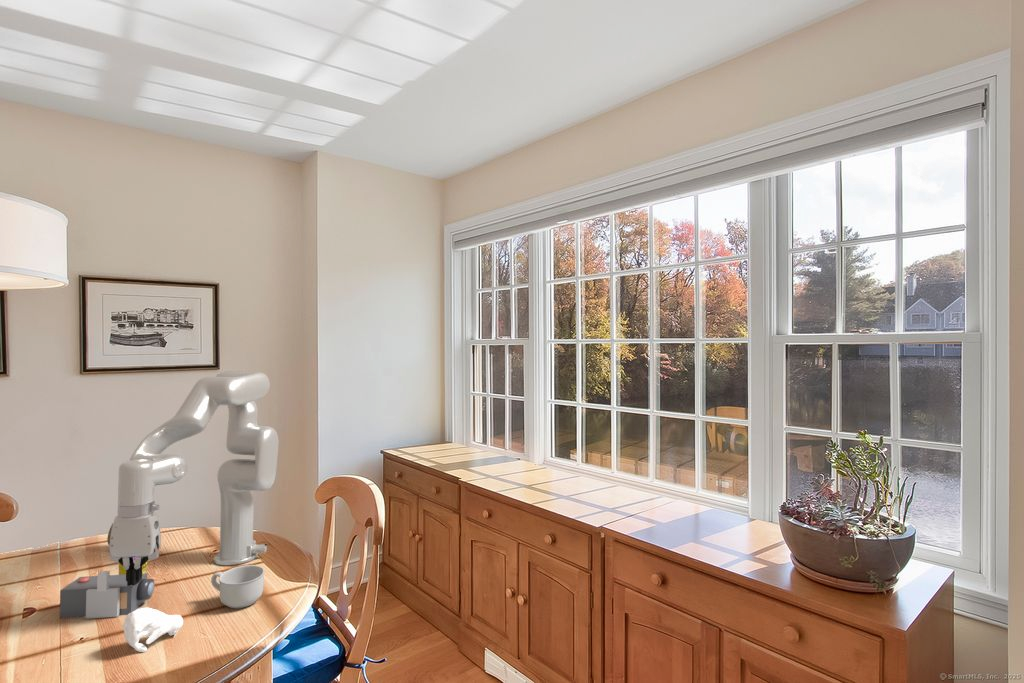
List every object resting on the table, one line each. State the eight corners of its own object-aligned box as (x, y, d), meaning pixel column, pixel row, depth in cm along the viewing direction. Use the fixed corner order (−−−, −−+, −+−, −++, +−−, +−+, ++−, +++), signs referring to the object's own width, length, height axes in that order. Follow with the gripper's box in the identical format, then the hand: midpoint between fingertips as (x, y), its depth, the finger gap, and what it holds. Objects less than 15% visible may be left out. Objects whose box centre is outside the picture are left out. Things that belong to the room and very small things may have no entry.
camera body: (156, 599, 145) (157, 570, 145) (141, 613, 137) (142, 583, 137) (79, 603, 142) (80, 574, 142) (59, 618, 134) (60, 587, 134)
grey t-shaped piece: (119, 614, 136) (120, 570, 136) (116, 617, 135) (117, 572, 135) (88, 616, 135) (89, 571, 135) (85, 619, 133) (86, 574, 134)
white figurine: (121, 608, 121) (179, 594, 131) (116, 648, 121) (174, 631, 130) (133, 617, 118) (191, 602, 127) (127, 658, 117) (186, 640, 127)
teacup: (272, 597, 147) (273, 568, 147) (240, 616, 136) (241, 584, 136) (233, 589, 151) (233, 561, 151) (199, 607, 141) (199, 576, 141)
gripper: (174, 504, 141) (173, 575, 141) (111, 506, 139) (109, 579, 138) (161, 513, 134) (159, 588, 134) (94, 515, 131) (91, 591, 131)
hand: (133, 583), depth 136 cm, fingers closed
